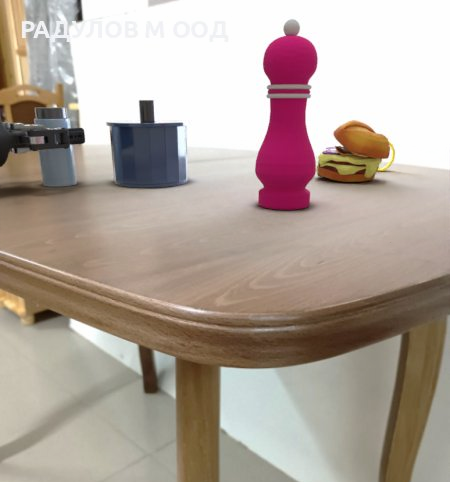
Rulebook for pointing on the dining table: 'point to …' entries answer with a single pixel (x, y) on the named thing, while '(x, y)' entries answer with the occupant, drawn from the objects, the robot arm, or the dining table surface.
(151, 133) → the pot
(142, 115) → the pot lid
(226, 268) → the dining table surface
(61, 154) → the shaker
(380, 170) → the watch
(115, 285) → the dining table surface
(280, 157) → the pepper mill
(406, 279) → the dining table surface
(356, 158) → the cheeseburger
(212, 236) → the dining table surface
